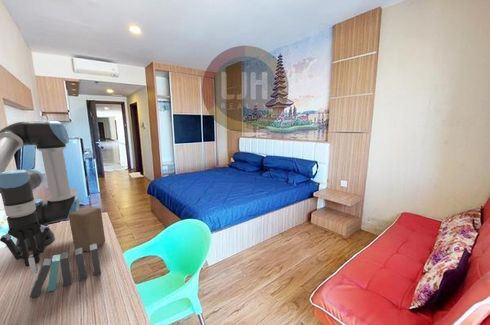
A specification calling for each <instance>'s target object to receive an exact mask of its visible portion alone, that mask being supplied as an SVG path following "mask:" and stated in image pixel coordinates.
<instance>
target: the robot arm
mask: <svg viewBox="0 0 490 325" xmlns="http://www.w3.org/2000/svg"><path fill="white" fill-rule="evenodd" d="M69 142H70V139H69V134H68V131H67V128H66V126H65V125H64V123H62V122H61V121H53V120H52V121H51V120H49V121H48V120H46V121H19V122H18V121H17V122H14V123H12V124H10V125H7V126H5V127H3V128H1V129H0V195H1V199H2V204H3V207H4V212H5V216H6V217H7V218H6V221H7V224H8V226H7V227H8V231H7V233H6V234H3V235H1V237H0V242H2V243H3V244H5V245H6V247H7V248H8V250H9V251H10V252H11V254H12V255H13V257H14V258H15V260H17V261H18V260H19V261H20V260H23V262H24V264H25V265H24V266H25V267H27V268H28V267H29V269H30V273H31V276H33V275H36V274H38V272H39V268H38V265H39V264H40V261H41V258H40V255H41V254H43V253H44V252H45V248H46V246H47V245H49V244H50V243H52V242H54V240H55V234H54V232H53V231H52V230H51V228H50V225H48V224H50V223H57V222H62V221H68V220H69V214H70V213H73V212H75V211H77V210H80V197H77V196H75V194H74V193H73V192H71V188H70V181H69V177H68V171H67V164H66V160H65V159H66V158H65V155H64V154H65V153H64V149H66V147H67V144H69ZM24 146H35V147H36V150H38V151H40V152H41V157H42V161H43V167H44V172H45V176H46V177H45V178H46V181H47V187H48V191H49V196H48V197H47V199H46V201H44V200H43V198H38V199H37V198H36V199H35V198H34V192H33V191H34V190H35V189H36V188H38V187H40V185H41V184H42V183H43V181H44V176H43V173H41V171H39V170H37V169H32V168H27V169H15V170H14V169H12V170H7V168H8V166H9V165H10V163H11V161H12V159H13V157H14V155H15V154H16V152H17V151H18V150H20V149H21V148H23V147H24ZM12 237H13V238H15V239H16V241H15V242H14V241H13V239H12ZM29 251H31V253H32V254H31V255H30V253H29Z"/></svg>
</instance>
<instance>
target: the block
mask: <svg viewBox="0 0 490 325" xmlns="http://www.w3.org/2000/svg"><path fill="white" fill-rule="evenodd" d="M68 220H69V225H70V231H71V236H72V242H73V247H74V250H75V249H78V248H82V250H83V252H90V245H92V244H96V245H97V248H98V247H99V246H102V245H103V244H105V242H106V236H105V231H104V230H105V229H104V223H103V216H102V209H101V208H100V207H92V206H84V207H82V208H79V210H77V211H75V212H73V213H70V214H69V219H68ZM90 253H91V252H90Z"/></svg>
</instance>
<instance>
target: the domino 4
mask: <svg viewBox="0 0 490 325" xmlns="http://www.w3.org/2000/svg"><path fill="white" fill-rule="evenodd" d="M74 256H75V262H76V267H77V268H76V269H77V272H78V277H79V282H82V281H85V280H87V279H88V278H87V277H88V276H87V268H86V262H85V258H84V257H85V256H84V251H83V250H82V248H78V249H75V248H74Z"/></svg>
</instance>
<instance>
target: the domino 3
mask: <svg viewBox="0 0 490 325" xmlns="http://www.w3.org/2000/svg"><path fill="white" fill-rule="evenodd" d="M59 255H60V269H61V275H62V283H63V287H64V288H66V287H68V286H71V285H73V284H72V283H73V281H72V280H73V277H72V269H71V263H70V256H69V251H64V252H62V253H60V254H59Z"/></svg>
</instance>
